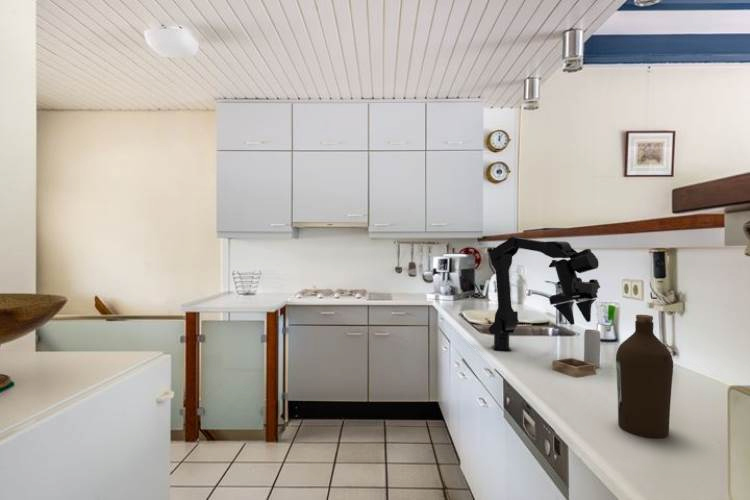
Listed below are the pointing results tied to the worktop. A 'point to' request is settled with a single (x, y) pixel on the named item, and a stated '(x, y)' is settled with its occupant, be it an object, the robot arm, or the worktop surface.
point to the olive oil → (644, 382)
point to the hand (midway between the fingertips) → (580, 323)
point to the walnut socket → (574, 367)
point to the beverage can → (592, 347)
